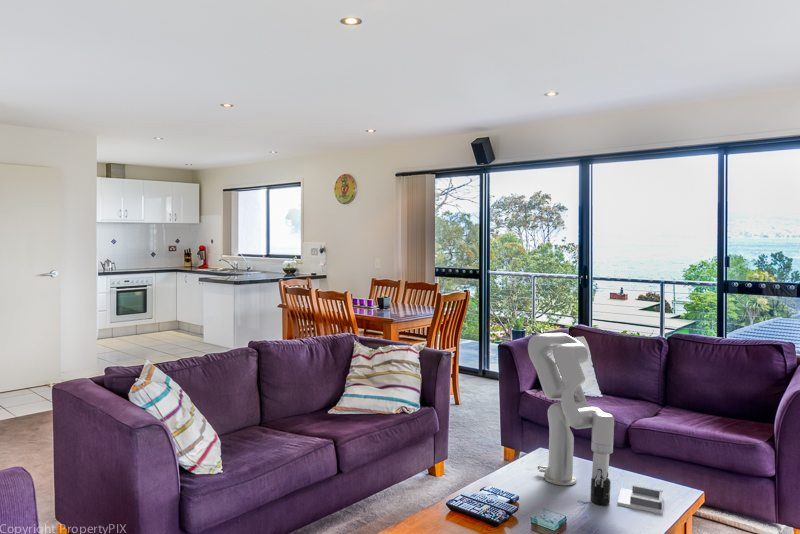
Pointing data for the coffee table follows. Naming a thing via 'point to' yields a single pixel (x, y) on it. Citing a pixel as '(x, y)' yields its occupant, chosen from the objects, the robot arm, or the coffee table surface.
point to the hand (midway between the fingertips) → (600, 492)
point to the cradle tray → (642, 499)
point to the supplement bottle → (606, 497)
